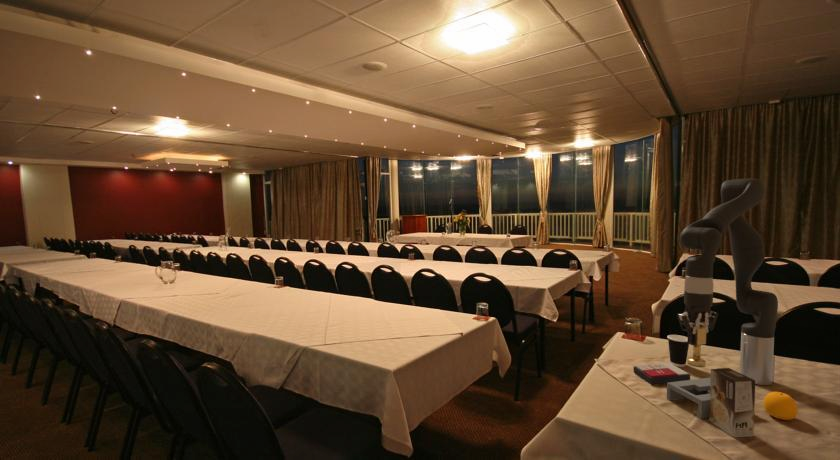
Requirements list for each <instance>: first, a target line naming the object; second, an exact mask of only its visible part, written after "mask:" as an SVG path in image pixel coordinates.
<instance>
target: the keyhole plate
mask: <svg viewBox="0 0 840 460" xmlns="http://www.w3.org/2000/svg"><path fill="white" fill-rule="evenodd" d="M674 399H675V400H674ZM683 399H688V400H690V401H692V402H694V403H696V404H697V405H698V406H697V417H698V418H699V417H700V418H699V419H708V418H709V415H710V377H704V378H697V379H696V378H695V379H690V380H685V381H677V382H668V383H667V385H666V400H668V401H676V400H683Z"/></svg>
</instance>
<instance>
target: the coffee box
mask: <svg viewBox="0 0 840 460" xmlns="http://www.w3.org/2000/svg"><path fill="white" fill-rule="evenodd" d="M709 378H710V415H709V419H708V420H709V422H710V423H712V424H713V425H715V426H716V427H717V428H719V429H721V430H722V431H724V432H725V433H727V434H728V435H730V436H731V437H733V438H749V437H751V438H752V437H754V435H755V434H754V433H755V406H756V405H755V404H756V403H755V401H756V400H755V399H756V384H755V380H753V379H751V378H749V377H747V376H745V375H743V374H741V373H740V372H738V371H736V370H734V369H732V368H729V367H723V368H722V367H721V368H711V369H710V375H709Z"/></svg>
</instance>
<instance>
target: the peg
mask: <svg viewBox="0 0 840 460" xmlns="http://www.w3.org/2000/svg"><path fill="white" fill-rule="evenodd" d="M692 327H693V326H691V329H692ZM706 344H707V341H706V328H703V327H700V326H699V327H697V330H696V345H692V356H687V360H686V364H687V365H689V366H692V367H695V368H705V367H706V363H707V361H706V360H705V359H703V358H701V352H702V351H701V350H702V349H701V348H702V347H701V346H702V345H706Z"/></svg>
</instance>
